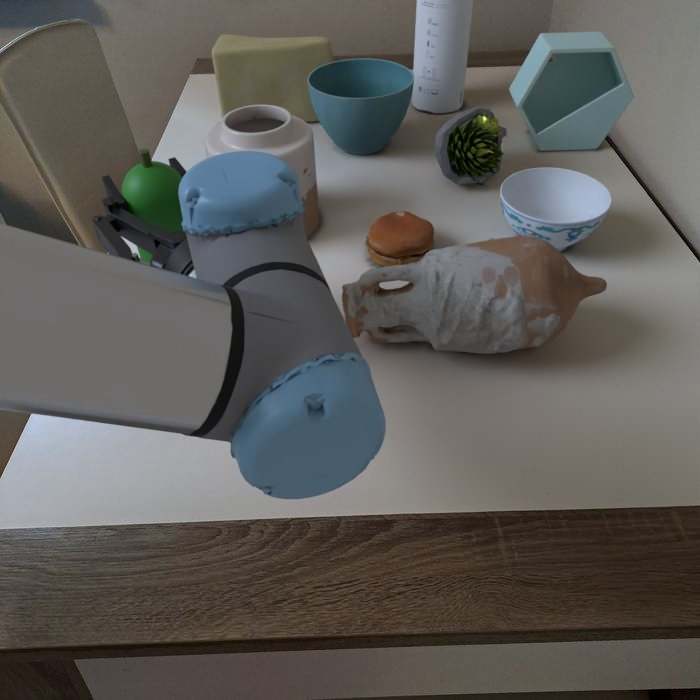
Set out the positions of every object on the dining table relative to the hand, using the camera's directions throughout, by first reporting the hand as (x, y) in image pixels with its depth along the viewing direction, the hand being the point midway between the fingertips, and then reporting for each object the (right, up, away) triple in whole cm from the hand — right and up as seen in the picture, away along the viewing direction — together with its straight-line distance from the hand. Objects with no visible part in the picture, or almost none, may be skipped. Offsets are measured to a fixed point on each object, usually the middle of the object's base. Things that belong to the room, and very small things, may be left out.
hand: (142, 178), depth 70 cm
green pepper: (+3, -8, +2) cm, 9 cm away
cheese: (+9, +27, +57) cm, 64 cm away
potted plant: (+43, +10, +38) cm, 58 cm away
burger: (+30, -5, +24) cm, 38 cm away
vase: (+10, +1, +30) cm, 32 cm away
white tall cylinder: (+40, +31, +60) cm, 79 cm away
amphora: (+37, -17, +10) cm, 42 cm away
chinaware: (+51, -3, +24) cm, 57 cm away
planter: (+61, +19, +47) cm, 79 cm away
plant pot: (+25, +19, +48) cm, 58 cm away
